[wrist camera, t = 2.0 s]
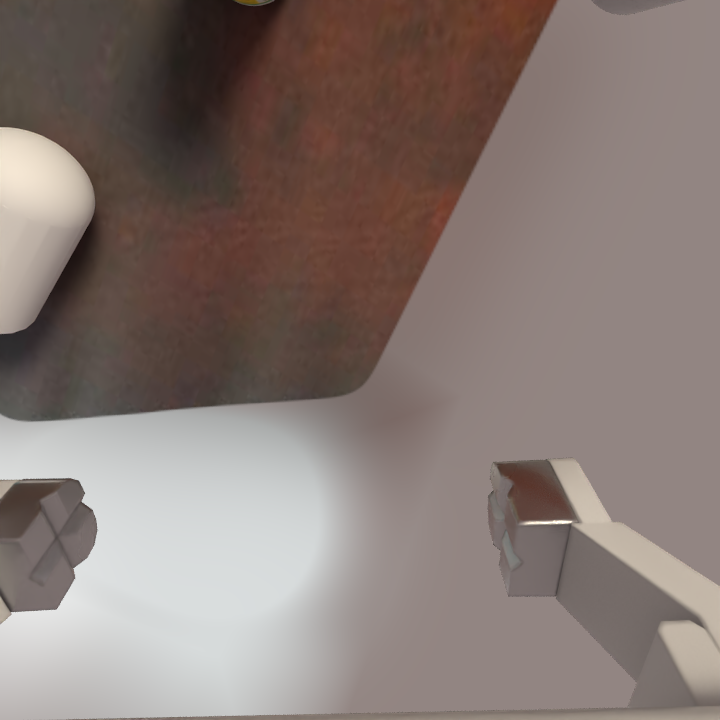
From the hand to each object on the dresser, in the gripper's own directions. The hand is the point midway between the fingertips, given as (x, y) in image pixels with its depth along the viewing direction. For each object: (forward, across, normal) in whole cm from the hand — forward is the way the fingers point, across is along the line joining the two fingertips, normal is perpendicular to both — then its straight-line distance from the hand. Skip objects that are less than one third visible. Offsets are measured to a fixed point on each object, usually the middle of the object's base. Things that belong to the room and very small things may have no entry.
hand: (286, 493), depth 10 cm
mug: (+27, +22, -2) cm, 35 cm away
